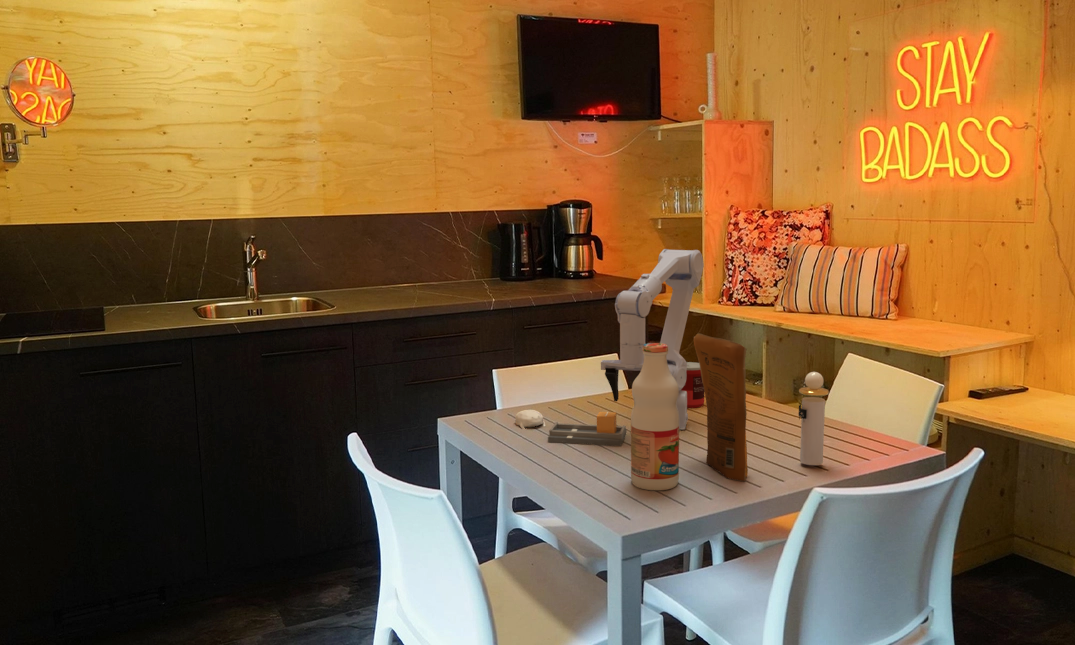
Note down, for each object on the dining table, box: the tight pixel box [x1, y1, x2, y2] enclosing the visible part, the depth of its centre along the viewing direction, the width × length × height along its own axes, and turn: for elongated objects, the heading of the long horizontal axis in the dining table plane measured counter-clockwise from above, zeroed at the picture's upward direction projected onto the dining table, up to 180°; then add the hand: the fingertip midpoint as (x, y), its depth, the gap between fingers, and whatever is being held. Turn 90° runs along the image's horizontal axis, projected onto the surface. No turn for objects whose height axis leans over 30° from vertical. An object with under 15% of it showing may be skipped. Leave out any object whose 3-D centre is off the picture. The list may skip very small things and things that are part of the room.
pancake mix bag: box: [693, 332, 749, 482], centre depth 173 cm, size 7×19×28 cm, turn 13°
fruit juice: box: [630, 342, 680, 492], centre depth 165 cm, size 9×9×28 cm
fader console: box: [547, 421, 628, 447], centre depth 198 cm, size 17×10×2 cm, turn 76°
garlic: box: [514, 409, 546, 430], centre depth 210 cm, size 8×7×4 cm
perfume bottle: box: [798, 371, 830, 466], centre depth 175 cm, size 6×6×20 cm
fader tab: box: [596, 411, 617, 433], centre depth 197 cm, size 4×4×4 cm
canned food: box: [681, 361, 705, 409], centre depth 226 cm, size 8×8×11 cm
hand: (632, 401), depth 194 cm, fingers open, 7 cm apart
